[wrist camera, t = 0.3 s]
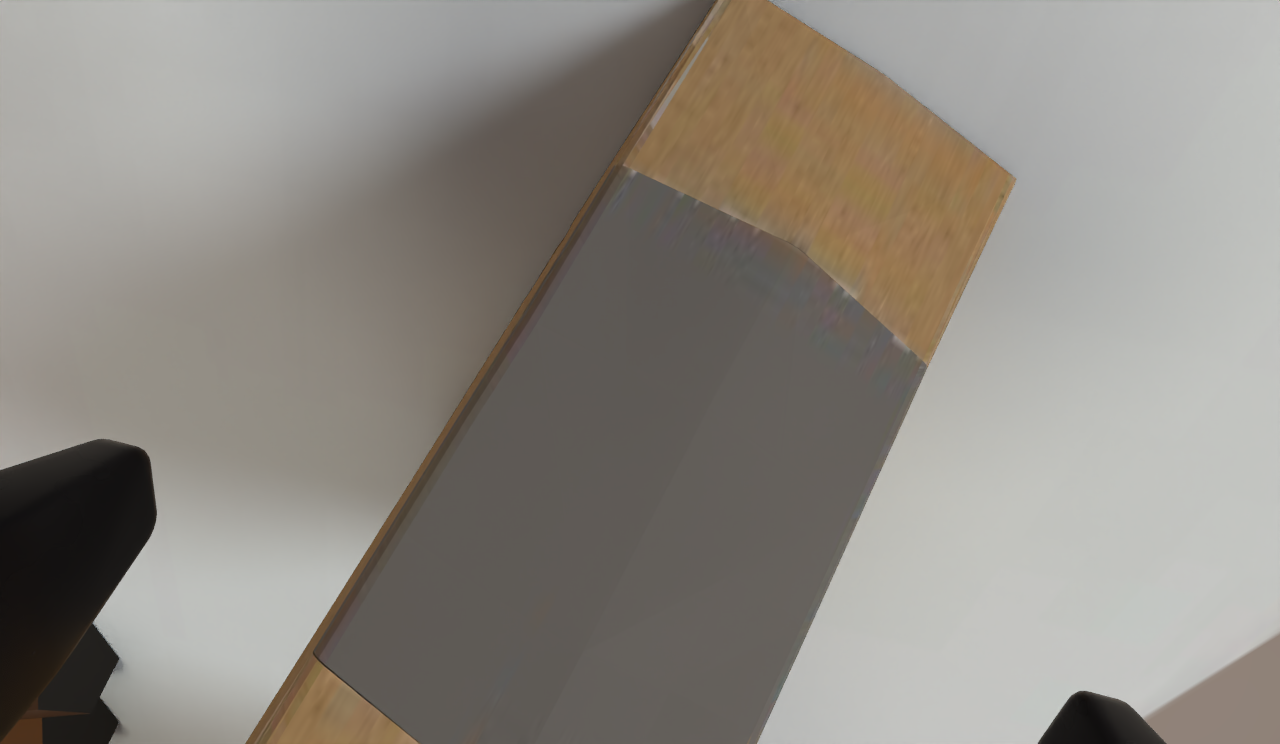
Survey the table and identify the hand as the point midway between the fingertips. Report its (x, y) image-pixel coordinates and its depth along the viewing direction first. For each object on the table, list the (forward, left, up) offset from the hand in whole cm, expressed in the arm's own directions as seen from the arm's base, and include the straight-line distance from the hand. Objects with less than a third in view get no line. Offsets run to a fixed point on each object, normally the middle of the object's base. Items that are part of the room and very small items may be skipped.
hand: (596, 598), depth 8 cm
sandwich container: (-4, -1, -15) cm, 15 cm away
